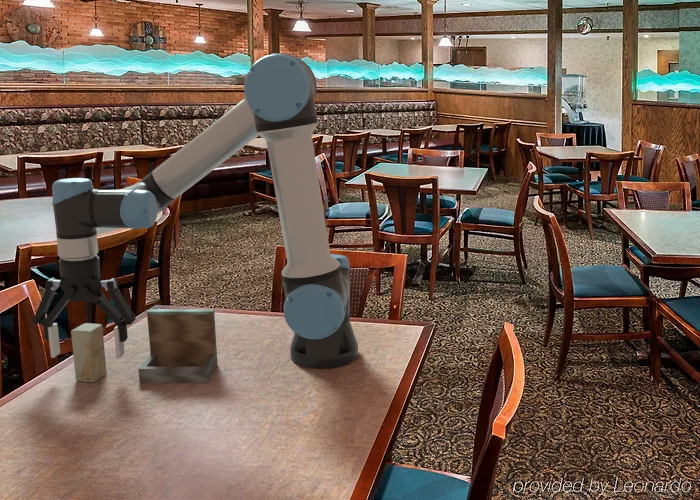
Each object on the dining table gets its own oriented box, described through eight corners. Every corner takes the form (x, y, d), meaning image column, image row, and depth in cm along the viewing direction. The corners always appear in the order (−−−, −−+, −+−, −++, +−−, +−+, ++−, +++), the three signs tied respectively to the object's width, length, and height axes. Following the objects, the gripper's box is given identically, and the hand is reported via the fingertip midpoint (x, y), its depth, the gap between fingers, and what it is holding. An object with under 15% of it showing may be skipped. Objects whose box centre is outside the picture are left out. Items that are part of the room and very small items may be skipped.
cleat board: (217, 364, 148) (214, 309, 145) (207, 382, 139) (203, 324, 136) (153, 364, 148) (149, 309, 146) (139, 382, 139) (134, 324, 136)
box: (94, 383, 139) (88, 332, 137) (75, 381, 140) (69, 330, 138) (107, 372, 144) (102, 323, 142) (89, 371, 145) (84, 322, 143)
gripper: (146, 252, 140) (153, 349, 144) (26, 251, 140) (37, 348, 145) (134, 261, 132) (141, 363, 137) (7, 260, 133) (19, 361, 138)
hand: (88, 355), depth 141 cm, fingers open, 13 cm apart
